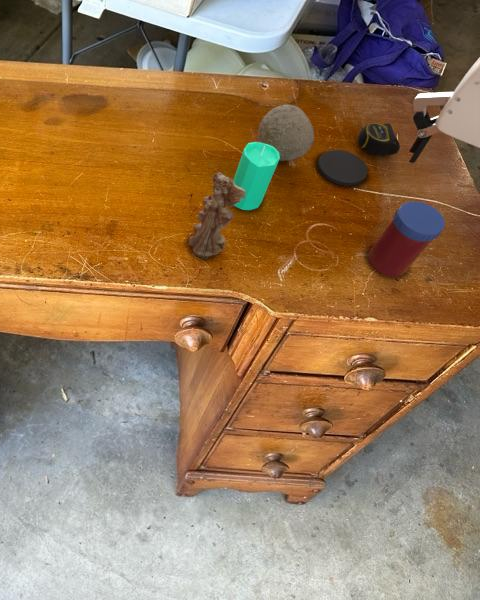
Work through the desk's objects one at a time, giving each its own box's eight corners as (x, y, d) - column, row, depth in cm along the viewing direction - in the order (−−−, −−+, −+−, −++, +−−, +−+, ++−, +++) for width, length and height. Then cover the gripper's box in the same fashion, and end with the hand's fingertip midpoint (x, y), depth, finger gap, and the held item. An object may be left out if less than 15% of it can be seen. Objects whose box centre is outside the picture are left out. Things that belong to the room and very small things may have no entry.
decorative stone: (242, 146, 111) (256, 103, 103) (275, 132, 113) (292, 89, 105) (276, 179, 106) (294, 136, 98) (310, 164, 108) (331, 121, 100)
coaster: (371, 163, 109) (372, 160, 108) (358, 192, 105) (360, 189, 104) (325, 146, 111) (326, 143, 111) (311, 174, 107) (312, 171, 106)
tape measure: (394, 160, 110) (404, 145, 107) (359, 158, 110) (367, 143, 107) (385, 136, 114) (394, 121, 111) (351, 134, 114) (359, 119, 110)
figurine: (176, 237, 97) (193, 172, 85) (203, 223, 99) (224, 157, 87) (204, 266, 94) (226, 202, 81) (231, 251, 96) (257, 187, 83)
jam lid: (443, 219, 89) (449, 212, 87) (434, 248, 85) (440, 241, 84) (398, 202, 91) (403, 195, 89) (388, 230, 87) (393, 223, 86)
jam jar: (411, 256, 96) (445, 214, 88) (402, 282, 93) (437, 241, 85) (373, 241, 98) (403, 198, 89) (363, 266, 95) (394, 224, 86)
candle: (221, 196, 103) (238, 144, 93) (243, 181, 105) (262, 129, 95) (246, 215, 101) (267, 164, 91) (268, 200, 103) (290, 148, 93)
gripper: (624, 70, 62) (523, 185, 76) (463, 17, 68) (397, 132, 82) (609, 104, 59) (507, 217, 73) (441, 45, 65) (377, 160, 79)
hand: (449, 172), depth 78 cm, fingers open, 9 cm apart
